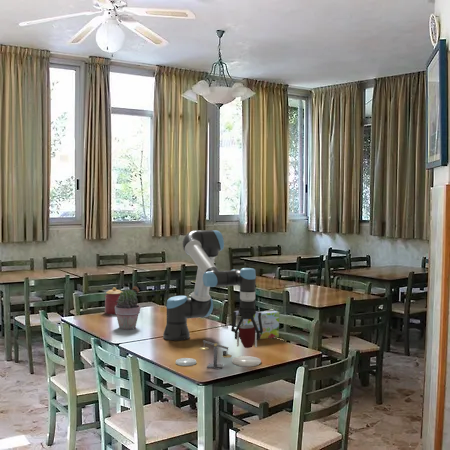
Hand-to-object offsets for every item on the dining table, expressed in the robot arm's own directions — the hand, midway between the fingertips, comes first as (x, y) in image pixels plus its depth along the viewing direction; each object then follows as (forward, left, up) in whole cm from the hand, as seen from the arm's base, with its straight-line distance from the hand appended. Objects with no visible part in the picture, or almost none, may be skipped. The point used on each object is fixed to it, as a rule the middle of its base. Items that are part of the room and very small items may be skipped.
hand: (246, 346), depth 281 cm
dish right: (0, 0, -8) cm, 8 cm away
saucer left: (-29, -6, -8) cm, 31 cm away
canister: (-101, +105, -8) cm, 146 cm away
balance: (-14, -10, -8) cm, 19 cm away
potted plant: (-79, +61, -8) cm, 100 cm away
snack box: (+4, +51, -8) cm, 52 cm away
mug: (0, 0, 0) cm, 0 cm away
